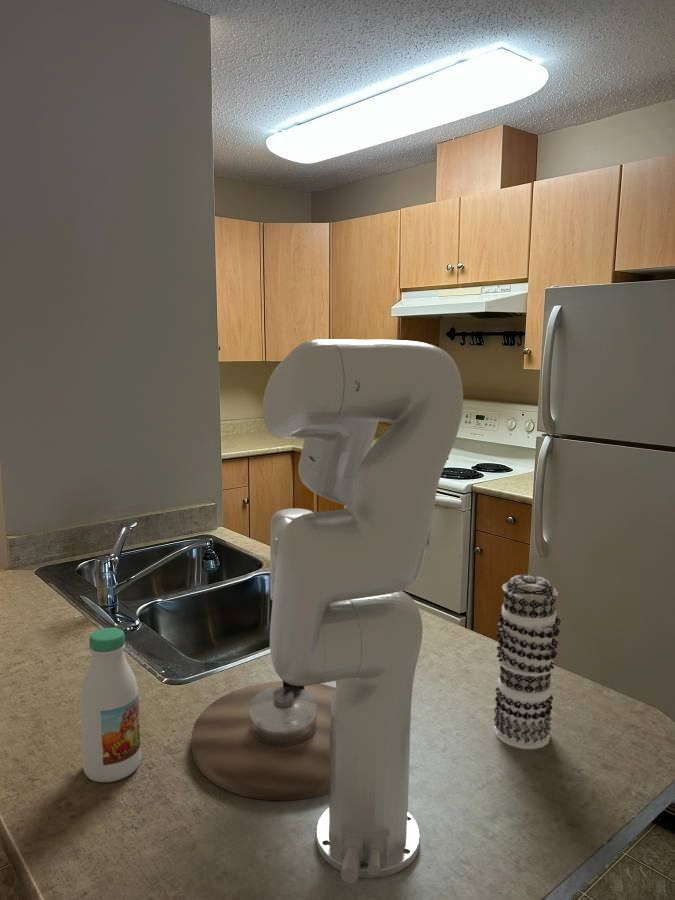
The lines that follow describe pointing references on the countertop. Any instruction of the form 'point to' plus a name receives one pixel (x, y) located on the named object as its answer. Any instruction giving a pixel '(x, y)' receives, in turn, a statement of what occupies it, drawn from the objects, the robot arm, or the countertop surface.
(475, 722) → the countertop surface
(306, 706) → the lid
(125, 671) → the milk bottle
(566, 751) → the countertop surface
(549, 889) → the countertop surface
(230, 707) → the turntable
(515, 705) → the decorative candle
